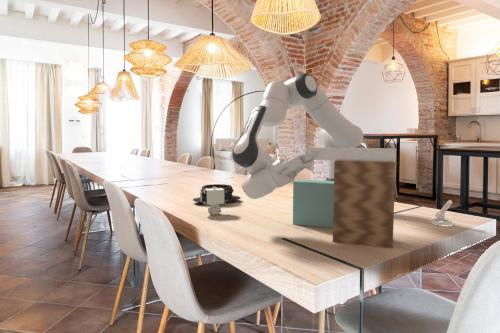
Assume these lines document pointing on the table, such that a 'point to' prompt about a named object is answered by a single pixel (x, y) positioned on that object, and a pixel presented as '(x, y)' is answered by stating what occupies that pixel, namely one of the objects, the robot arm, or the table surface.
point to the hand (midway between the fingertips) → (318, 152)
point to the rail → (354, 154)
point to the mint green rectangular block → (313, 203)
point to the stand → (364, 202)
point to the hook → (442, 215)
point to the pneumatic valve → (214, 199)
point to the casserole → (227, 187)
